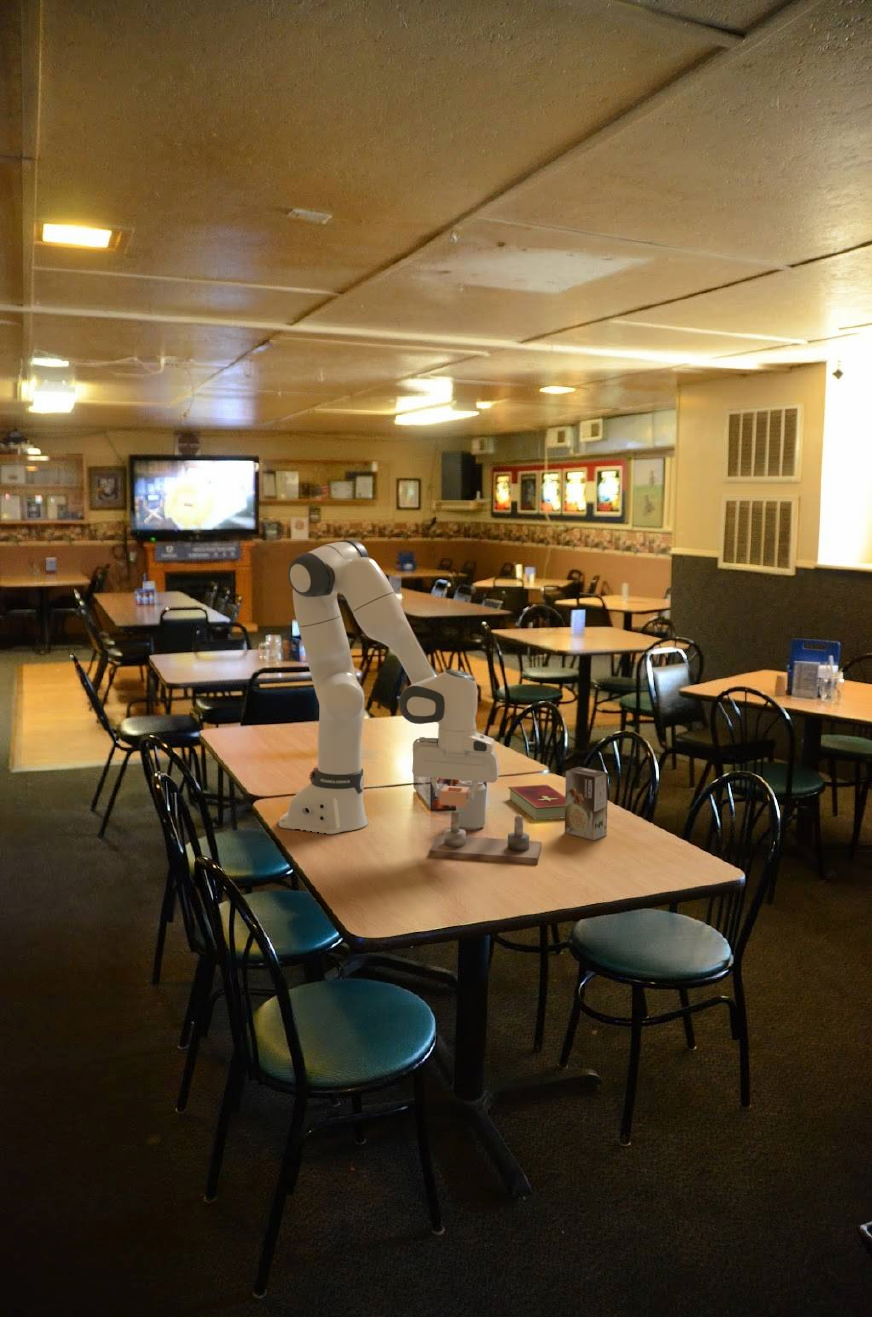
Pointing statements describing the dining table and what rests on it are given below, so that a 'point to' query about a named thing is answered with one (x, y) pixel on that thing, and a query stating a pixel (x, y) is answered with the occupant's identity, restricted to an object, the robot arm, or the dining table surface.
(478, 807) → the can
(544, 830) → the dining table surface
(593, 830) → the coffee box
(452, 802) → the collar
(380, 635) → the robot arm
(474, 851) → the stand board
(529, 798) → the hardcover book
